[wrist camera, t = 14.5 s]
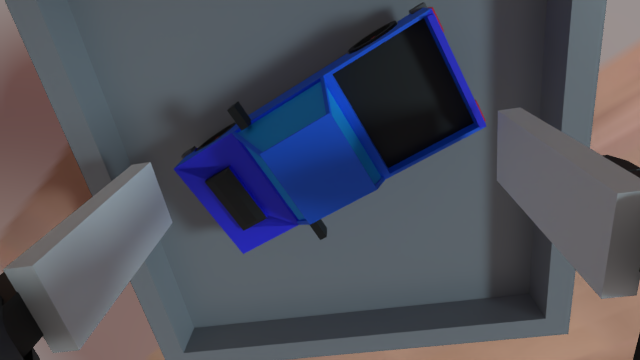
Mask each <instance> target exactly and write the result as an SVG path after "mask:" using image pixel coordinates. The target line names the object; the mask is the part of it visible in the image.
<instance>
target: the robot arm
mask: <svg viewBox="0 0 640 360" xmlns="http://www.w3.org/2000/svg"><path fill="white" fill-rule="evenodd" d="M497 181H498V182H499V183H500V185H501V186H502V187H503V188H504V189H505V190H506V191H507V192H508V194H509V195H510V196H511V197H512V198H513V199H514V200H515V202H516V203H517V204H518V205H519V206H520V207H521V208H522V209H523V211H524V212H525V213H526V214H527V215H528V216H529V217H530V219H531V220H532V221H533V222H534V223H535V224H536V225H537V226H538V228H539V229H540V230H541V231H542V232H543V233H544V234H545V236H546V237H547V238H548V239H549V240H550V241H551V242H552V243H553V245H554V246H555V247H556V248H557V249H558V250H559V251H560V252H561V254H562V255H563V256H564V257H565V258H566V259H567V260H568V262H569V263H570V264H571V265H572V266H573V267H574V268H575V269H576V271H577V272H578V273H579V274H580V275H581V276H582V277H583V279H584V280H585V281H586V282H587V283H588V284H589V285H590V286H591V288H592V289H593V290H594V291H595V292H596V293H597V294H598V295H599V297H600V298H601V299H604V298H614V297H624V296H634V295H637V290H638V285H639V280H640V168H639V167H638V166H636V165H634V164H632V163H630V162H629V161H626V160H623V159H620V158H616V157H613V156H609V155H603V156H602V155H600V154H598V153H597V152H595V151H593V150H592V149H590V148H588V147H586V146H585V145H583V144H581V143H580V142H578V141H576V140H575V139H573V138H571V137H570V136H568V135H566V134H564V133H563V132H561V131H559V130H558V129H556V128H554V127H553V126H551V125H549V124H547V123H546V122H544V121H542V120H541V119H539V118H537V117H536V116H534V115H532V114H531V113H529V112H527V111H525V110H524V109H522V108H520V107H519V108H512V109H505V110H499V111H498V132H497ZM172 223H173V222H172V220H171V217H170V214H169V211H168V209H167V206H166V203H165V200H164V198H163V195H162V192H161V189H160V187H159V184H158V181H157V179H156V176H155V173H154V170H153V168H152V165H151V162H147V163H140V164H133V165H131V166H130V167H129V168H127V169H126V170H125V171H124V172H122V173H121V174H120V175H119V176H118V177H116V178H115V179H114V180H113V181H111V182H110V183H109V184H108V185H106V186H105V187H104V188H103V189H102V190H100V191H99V192H98V193H97V194H95V195H94V196H93V197H92V198H90V199H89V200H88V201H87V202H86V203H84V204H83V205H82V206H81V207H79V208H78V209H77V210H76V211H74V212H73V213H72V214H71V215H70V216H68V217H67V218H66V219H65V220H63V221H62V222H61V223H60V224H58V225H57V226H56V227H55V228H54V229H52V230H51V231H50V232H49V233H47V234H46V235H45V236H44V237H42V238H41V239H40V240H39V241H38V242H36V243H35V244H34V245H33V246H31V247H30V248H29V249H28V250H26V251H25V252H24V253H23V254H22V255H20V256H19V257H18V258H17V259H15V260H14V261H13V262H12V263H10V264H9V265H8V266H7V267H6V268H4V269H3V270H4V272H3V273H2V274H1V275H0V360H40V358H39V356H38V355H37V353H36V352H35V350H34V349H33V347H34V346H35V344H36V343H37V342H38V341H39V340H40V338H41V337H42V336H43V337H44V339H45V340H46V342H47V344H48V345H49V347H50V349H51V350H52V352H53V353H57V352H67V351H77V350H80V349H81V347H82V346H83V345H84V343H85V342H86V341H87V339H88V338H89V336H90V335H91V334H92V332H93V331H94V330H95V328H96V327H97V325H98V324H99V323H100V321H101V320H102V319H103V317H104V316H105V315H106V313H107V312H108V310H109V309H110V308H111V306H112V305H113V303H114V302H115V301H116V299H117V298H118V297H119V295H120V294H121V293H122V291H123V290H124V289H125V287H126V286H127V284H128V283H129V282H130V280H131V279H132V278H133V276H134V275H135V273H136V272H137V271H138V269H139V268H140V267H141V265H142V264H143V263H144V261H145V260H146V258H147V257H148V256H149V254H150V253H151V252H152V250H153V249H154V247H155V246H156V245H157V243H158V242H159V241H160V239H161V238H162V237H163V235H164V234H165V232H166V231H167V230H168V228H169V227H170V226H171V224H172ZM633 360H640V334H639V338H638V342H637V346H636V350H635V354H634V358H633Z"/></svg>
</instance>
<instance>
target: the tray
mask: <svg viewBox="0 0 640 360" xmlns="http://www.w3.org/2000/svg"><path fill="white" fill-rule="evenodd" d="M606 1H607V0H5V2H6V4H7V6H8V9H9V11H10V13H11V15H12V18H13V20H14V22H15V24H16V26H17V29H18V31H19V33H20V35H21V38H22V40H23V42H24V44H25V47H26V49H27V51H28V53H29V56H30V58H31V60H32V62H33V65H34V67H35V69H36V71H37V73H38V76H39V78H40V80H41V82H42V85H43V87H44V89H45V91H46V94H47V96H48V98H49V100H50V103H51V105H52V107H53V109H54V112H55V114H56V116H57V118H58V120H59V123H60V125H61V127H62V129H63V132H64V134H65V136H66V138H67V141H68V143H69V145H70V147H71V150H72V152H73V154H74V156H75V159H76V161H77V163H78V165H79V167H80V170H81V172H82V174H83V176H84V179H85V181H86V183H87V185H88V188H89V190H90V192H91V194H92V197H93V196H94V195H95V194H97V193H98V192H99V191H100V190H102V189H103V188H104V187H105V186H106V185H108V184H109V183H110V182H111V181H113V180H114V179H115V178H116V177H118V176H119V175H120V174H121V173H122V172H124V171H125V170H126V169H127V168H129V167H130V166H131V165H133V164H140V163H147V162H151V165H152V168H153V170H154V173H155V176H156V179H157V181H158V184H159V187H160V189H161V192H162V195H163V198H164V200H165V203H166V206H167V209H168V211H169V214H170V217H171V220H172V222H173V223H172V224H171V226H170V227H169V228H168V230H167V231H166V232H165V234H164V235H163V237H162V238H161V239H160V241H159V242H158V243H157V245H156V246H155V247H154V249H153V250H152V252H151V253H150V254H149V256H148V257H147V258H146V260H145V261H144V263H143V264H142V265H141V267H140V268H139V269H138V271H137V272H136V273H135V275H134V276H133V278H132V279H131V280H130V282H131V284H132V286H133V288H134V290H135V293H136V295H137V297H138V300H139V302H140V304H141V306H142V308H143V311H144V313H145V315H146V317H147V320H148V322H149V324H150V326H151V329H152V331H153V333H154V335H155V337H156V340H157V342H158V344H159V347H160V349H161V351H162V353H163V356H164V358H165V360H286V359H297V358H308V357H319V356H330V355H341V354H352V353H363V352H374V351H385V350H396V349H407V348H418V347H429V346H440V345H451V344H462V343H473V342H484V341H494V340H505V339H516V338H527V337H538V336H549V335H560V334H568V330H569V322H570V313H571V305H572V296H573V287H574V279H575V270H576V269H575V268H574V267H573V266H572V265H571V264H570V263H569V262H568V260H567V259H566V258H565V257H564V256H563V255H562V254H561V252H560V251H559V250H558V249H557V248H556V247H555V246H554V245H553V243H552V242H551V241H550V240H549V239H548V238H547V237H546V236H545V234H544V233H543V232H542V231H541V230H540V229H539V228H538V226H537V225H536V224H535V223H534V222H533V221H532V220H531V219H530V217H529V216H528V215H527V214H526V213H525V212H524V211H523V209H522V208H521V207H520V206H519V205H518V204H517V203H516V202H515V200H514V199H513V198H512V197H511V196H510V195H509V194H508V192H507V191H506V190H505V189H504V188H503V187H502V186H501V185H500V183H499V182H498V181H497V132H498V111H499V110H505V109H512V108H519V107H520V108H522V109H524V110H525V111H527V112H529V113H531V114H532V115H534V116H536V117H537V118H539V119H541V120H542V121H544V122H546V123H547V124H549V125H551V126H553V127H554V128H556V129H558V130H559V131H561V132H563V133H564V134H566V135H568V136H570V137H571V138H573V139H575V140H576V141H578V142H580V143H581V144H583V145H585V146H586V147H588V148H590V141H591V132H592V124H593V115H594V106H595V98H596V89H597V80H598V72H599V63H600V55H601V46H602V36H603V29H604V20H605V11H606V3H607V2H606ZM422 2H423V3H425V4H426V6H427V8H428V7H433V8H434V10H435V13H436V15H437V17H438V19H439V21H440V23H441V25H442V28H443V30H444V32H443V33H444V35H445V37H446V39H447V42H448V44H449V46H450V48H451V50H452V52H453V54H454V57H455V59H456V61H457V63H458V65H459V67H460V69H461V72H462V74H463V76H464V78H465V80H466V82H467V85H468V87H469V89H470V91H471V93H472V95H473V97H474V99H475V100H476V101H477V103H478V105H479V107H480V109H481V111H482V114H483V116H484V118H485V120H486V121H485V123H486V126H487V127H485V128H483V129H481V130H479V131H477V132H475V133H473V134H472V135H470V136H468V137H466V138H464V139H462V140H460V141H458V142H456V143H454V144H452V145H451V146H449V147H447V148H445V149H443V150H441V151H439V152H437V153H435V154H433V155H431V156H430V157H428V158H426V159H424V160H422V161H420V162H418V163H416V164H414V165H412V166H410V167H409V168H407V169H405V170H403V171H401V172H399V173H397V174H395V175H393V176H391V177H389V178H388V179H386V180H385V181H384V182H383V183H382V185H381V186H380V187H379V188H378V189H377V190H376V191H374V192H372V193H370V194H368V195H366V196H364V197H362V198H360V199H358V200H356V201H355V202H353V203H351V204H349V205H347V206H345V207H343V208H341V209H339V210H337V211H335V212H333V213H331V214H330V215H328V216H326V217H324V218H322V219H321V220H322V221H323V223H324V224H325V226H326V227H327V237H326V238H324V239H322V240H320V239H319V238H318V236H317V235H316V234H315V232H314V231H313V229H312V228H311V227H310V225H298V226H296V227H294V228H292V229H290V230H288V231H286V232H285V233H283V234H281V235H279V236H277V237H275V238H273V239H271V240H269V241H267V242H265V243H264V244H262V245H260V246H258V247H256V248H254V249H252V250H250V251H248V252H246V253H244V254H243V253H242V252H241V251H240V250H239V248H238V247H237V246H236V245H235V243H234V242H233V241H232V240H231V239H230V237H229V236H228V235H227V234H226V232H225V231H224V230H223V229H222V228H221V226H220V225H219V224H218V223H217V222H216V220H215V219H214V218H213V217H212V215H211V214H210V213H209V212H208V211H207V209H206V208H205V207H204V206H203V204H202V203H201V202H200V201H199V200H198V198H197V197H196V196H195V195H194V194H193V192H192V191H191V190H190V189H189V187H188V186H187V185H186V184H185V183H184V181H183V180H182V179H181V178H180V176H179V175H178V174H177V173H176V172H175V170H174V168H175V167H176V166H177V165H178V164H179V163H180V162H181V161H182V159H183V158H182V157H181V156H182V155H183V154H184V153H185V152H186V151H187V150H189V149H190V148H192V147H194V146H195V147H196V148H198V147H199V146H201V145H202V144H203V143H204V142H205V141H207V140H208V139H209V138H211V137H212V136H213V135H215V134H216V133H218V132H219V131H221V130H222V129H224V128H225V127H227V126H229V125H231V124H233V123H236V122H235V121H234V119H233V118H232V117H231V115H230V114H229V113H228V111H227V110H228V109H229V108H230V107H231V106H232V105H233V104H235V103H236V102H239V103H240V104H241V106H242V107H243V109H244V110H245V112H246V113H247V114H248V115H250V114H251V113H253V112H254V111H256V110H257V109H259V108H261V107H262V106H264V105H265V104H267V103H269V102H270V101H272V100H273V99H275V98H277V97H278V96H280V95H281V94H283V93H285V92H286V91H288V90H289V89H291V88H292V87H294V86H296V85H297V84H299V83H300V82H302V81H304V80H305V79H307V78H308V77H310V76H312V75H313V74H315V73H316V72H318V71H320V70H321V69H323V68H324V67H326V66H327V65H329V64H331V63H332V62H334V61H335V60H337V59H339V58H340V57H342V56H343V55H345V54H349V52H348V50H349V49H350V48H351V47H352V46H354V45H355V44H356V43H357V42H359V41H360V40H362V39H363V38H364V37H366V36H368V35H369V34H371V33H372V32H374V31H375V30H377V29H379V28H380V27H382V26H384V25H386V24H388V23H390V22H392V21H396V22H397V21H399V20H401V19H402V18H404V17H405V16H407V15H409V14H410V13H409V10H411V9H412V8H414V7H415V6H417V5H419V4H420V3H422ZM397 24H398V22H397Z"/></svg>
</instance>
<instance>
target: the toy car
mask: <svg viewBox="0 0 640 360" xmlns="http://www.w3.org/2000/svg"><path fill="white" fill-rule="evenodd" d="M409 13H410V14H409V15H407V16H405V17H404V18H402V19H401V20H399V21H397V22H398V24H397V22H396V21H392V22H390V23H388V24H386V25H384V26H382V27H380V28H379V29H377V30H375V31H374V32H372V33H371V34H369V35H368V36H366V37H364V38H363V39H362V40H360V41H359V42H357V43H356V44H355V45H354V46H352V47H351V48H350V49H349V50H348V52H349V54H345V55H343V56H342V57H340V58H339V59H337V60H335V61H334V62H332V63H331V64H329V65H327V66H326V67H324V68H323V69H321V70H320V71H318V72H316V73H315V74H313V75H312V76H310V77H308V78H307V79H305V80H304V81H302V82H300V83H299V84H297V85H296V86H294V87H292V88H291V89H289V90H288V91H286V92H285V93H283V94H281V95H280V96H278V97H277V98H275V99H273V100H272V101H270V102H269V103H267V104H265V105H264V106H262V107H261V108H259V109H257V110H256V111H254V112H253V113H251V114H250V115H248V114H247V113H246V112H245V110H244V109H243V107H242V106H241V104H240V103H239V102H236V103H235V104H233V105H232V106H231V107H230V108H229V109H228V110H227V111H228V113H229V114H230V115H231V117H232V118H233V119H234V121H235V122H236V123H233V124H231V125H229V126H227V127H225V128H224V129H222V130H221V131H219V132H218V133H216V134H215V135H213V136H212V137H211V138H209V139H208V140H207V141H205V142H204V143H203V144H202V145H201V146H199V147H198V148H196V147H195V146H194V147H192V148H190V149H189V150H187V151H186V152H185V153H184V154H183V155H182V156H181V157H182V158H183V159H182V161H181V162H180V163H179V164H178V165H177V166H176V167H175V168H174V170H175V172H176V173H177V174H178V175H179V176H180V178H181V179H182V180H183V181H184V183H185V184H186V185H187V186H188V187H189V189H190V190H191V191H192V192H193V194H194V195H195V196H196V197H197V198H198V200H199V201H200V202H201V203H202V204H203V206H204V207H205V208H206V209H207V211H208V212H209V213H210V214H211V215H212V217H213V218H214V219H215V220H216V222H217V223H218V224H219V225H220V226H221V228H222V229H223V230H224V231H225V232H226V234H227V235H228V236H229V237H230V239H231V240H232V241H233V242H234V243H235V245H236V246H237V247H238V248H239V250H240V251H241V252H242V253H243V254H244V253H246V252H248V251H250V250H252V249H254V248H256V247H258V246H260V245H262V244H264V243H265V242H267V241H269V240H271V239H273V238H275V237H277V236H279V235H281V234H283V233H285V232H286V231H288V230H290V229H292V228H294V227H296V226H298V225H310V227H311V228H312V229H313V231H314V232H315V234H316V235H317V236H318V238H319V239H320V240H322V239H324V238H326V237H327V227H326V226H325V224H324V223H323V221H322V220H321V219H322V218H324V217H326V216H328V215H330V214H331V213H333V212H335V211H337V210H339V209H341V208H343V207H345V206H347V205H349V204H351V203H353V202H355V201H356V200H358V199H360V198H362V197H364V196H366V195H368V194H370V193H372V192H374V191H376V190H377V189H378V188H379V187H380V186H381V185H382V183H383V182H384V181H385V180H386V179H388V178H389V177H391V176H393V175H395V174H397V173H399V172H401V171H403V170H405V169H407V168H409V167H410V166H412V165H414V164H416V163H418V162H420V161H422V160H424V159H426V158H428V157H430V156H431V155H433V154H435V153H437V152H439V151H441V150H443V149H445V148H447V147H449V146H451V145H452V144H454V143H456V142H458V141H460V140H462V139H464V138H466V137H468V136H470V135H472V134H473V133H475V132H477V131H479V130H481V129H483V128H485V127H487V126H486V123H485V121H486V120H485V118H484V116H483V114H482V111H481V109H480V107H479V105H478V103H477V101H476V100H475V99H474V97H473V95H472V93H471V91H470V89H469V87H468V85H467V82H466V80H465V78H464V76H463V74H462V72H461V69H460V67H459V65H458V63H457V61H456V59H455V57H454V54H453V52H452V50H451V48H450V46H449V44H448V42H447V39H446V37H445V35H444V33H443V32H444V30H443V28H442V25H441V23H440V21H439V19H438V17H437V15H436V13H435V10H434V8H433V7H428V8H427V6H426V4H425V3H423V2H422V3H420V4H419V5H417V6H415V7H414V8H412V9H411V10H409Z"/></svg>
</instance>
